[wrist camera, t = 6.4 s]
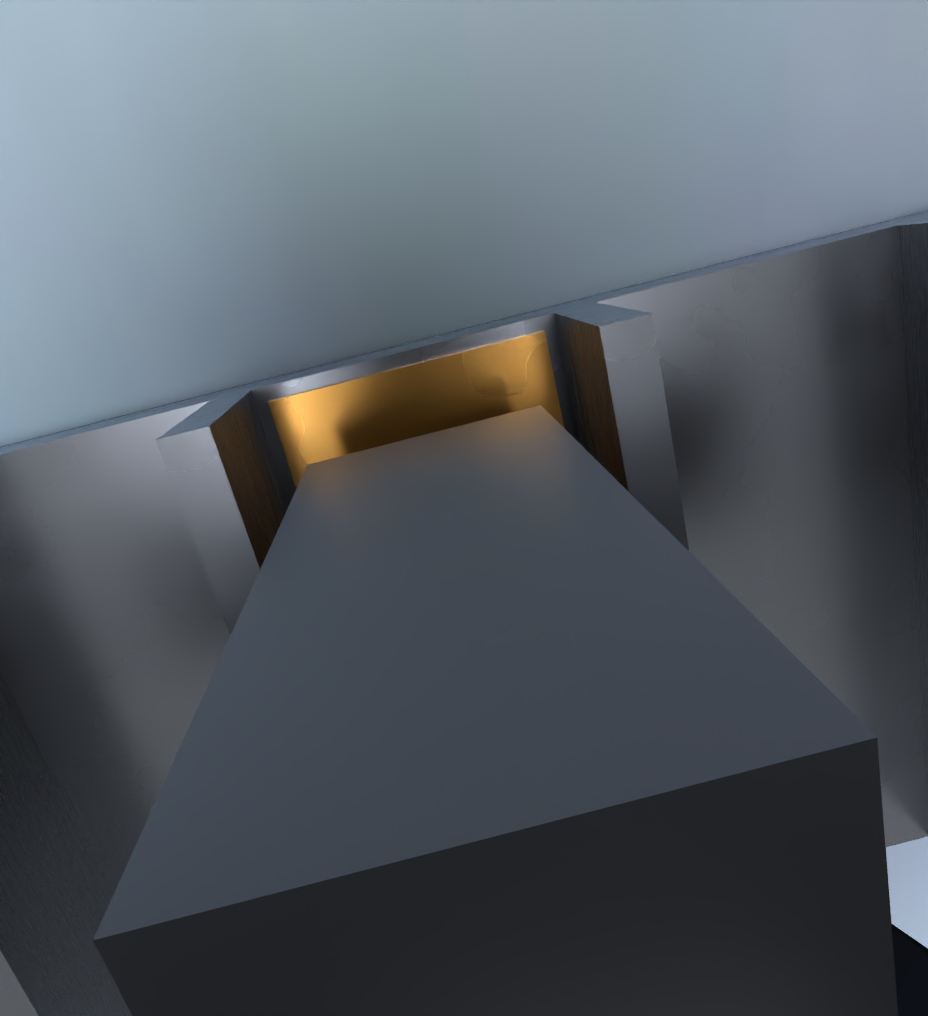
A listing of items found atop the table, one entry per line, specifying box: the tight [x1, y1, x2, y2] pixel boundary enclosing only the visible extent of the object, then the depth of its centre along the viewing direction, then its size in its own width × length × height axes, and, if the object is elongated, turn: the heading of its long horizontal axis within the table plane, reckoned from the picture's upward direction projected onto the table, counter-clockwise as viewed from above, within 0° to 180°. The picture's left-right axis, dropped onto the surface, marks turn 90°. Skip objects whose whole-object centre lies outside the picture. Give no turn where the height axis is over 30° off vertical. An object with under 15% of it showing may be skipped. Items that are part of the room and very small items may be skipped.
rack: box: [0, 211, 928, 1016], centre depth 11 cm, size 22×12×6 cm, turn 103°
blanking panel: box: [93, 405, 898, 1016], centre depth 8 cm, size 3×9×7 cm, turn 14°
